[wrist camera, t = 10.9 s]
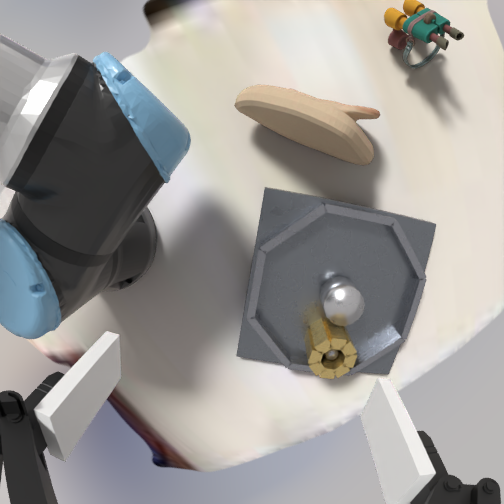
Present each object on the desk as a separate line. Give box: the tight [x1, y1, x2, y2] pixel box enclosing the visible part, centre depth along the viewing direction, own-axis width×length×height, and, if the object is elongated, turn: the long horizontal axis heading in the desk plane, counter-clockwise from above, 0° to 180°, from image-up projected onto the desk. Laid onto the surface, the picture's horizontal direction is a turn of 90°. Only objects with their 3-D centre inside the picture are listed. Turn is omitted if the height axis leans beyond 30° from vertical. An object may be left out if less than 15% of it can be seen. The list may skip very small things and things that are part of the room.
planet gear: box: [304, 317, 357, 379], centre depth 40 cm, size 6×6×6 cm
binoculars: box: [384, 0, 464, 68], centre depth 30 cm, size 9×9×10 cm
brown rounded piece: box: [235, 85, 380, 165], centre depth 34 cm, size 14×8×15 cm
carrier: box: [237, 187, 436, 376], centre depth 40 cm, size 24×24×6 cm
